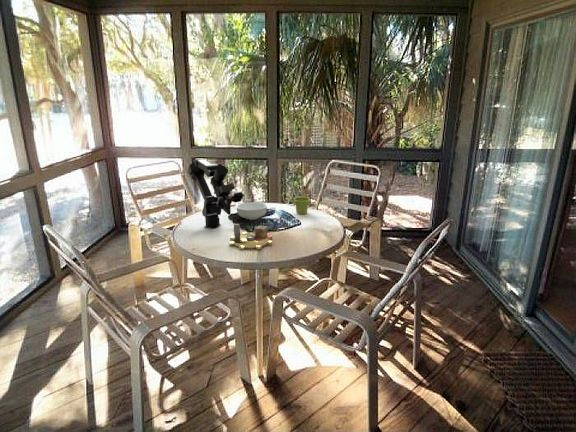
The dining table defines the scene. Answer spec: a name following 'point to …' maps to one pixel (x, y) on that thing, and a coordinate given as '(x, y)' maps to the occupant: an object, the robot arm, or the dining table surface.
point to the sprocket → (248, 239)
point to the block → (261, 231)
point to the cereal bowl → (252, 210)
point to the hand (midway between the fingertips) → (229, 214)
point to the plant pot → (301, 205)
